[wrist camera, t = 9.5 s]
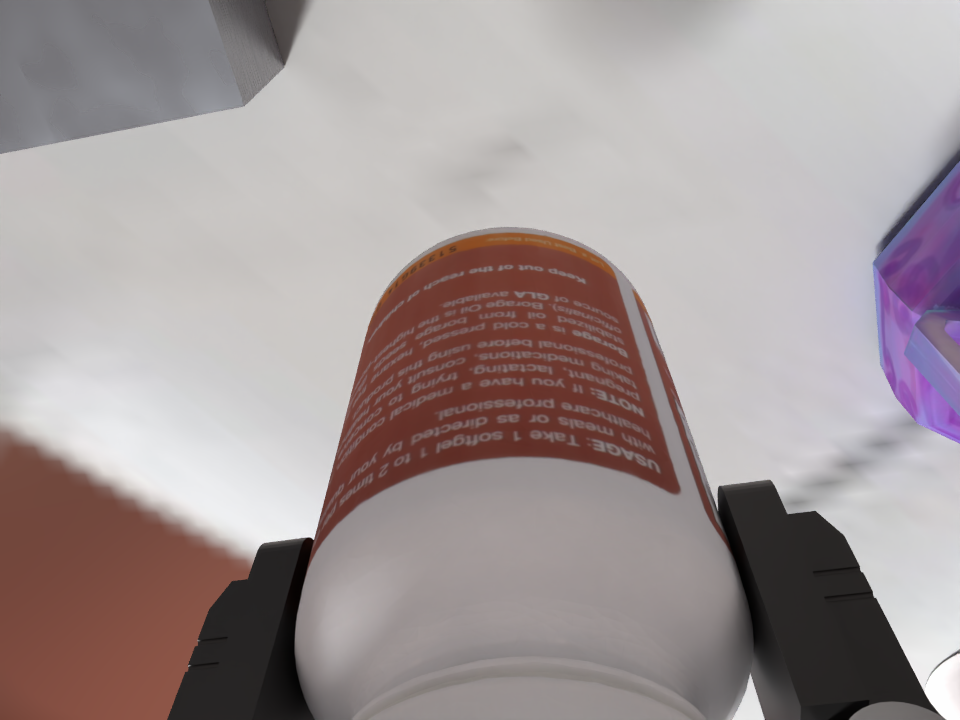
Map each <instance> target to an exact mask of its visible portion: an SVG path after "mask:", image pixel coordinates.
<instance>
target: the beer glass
mask: <svg viewBox="0 0 960 720" xmlns="http://www.w3.org/2000/svg"><path fill="white" fill-rule="evenodd" d="M925 694H926V696H927V698H928V699H929V701H930V703H931V704H932V705H933V706H934V708H935V709H936V710H937V711H938V713H939V714H940V715H941V716H942V717H943V718H945V719H946V720H960V653H958V654H956V655H954V656H952V657H950V658H949V659H947V660H946V661H944V662H943V663H942V664H941V665H939V666H938V667H937V668H936V669H935V670H934V672H933V673H932V674H931V676H930V677H929V679H928V681H927V683H926V687H925Z"/></svg>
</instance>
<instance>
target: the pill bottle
mask: <svg viewBox="0 0 960 720" xmlns="http://www.w3.org/2000/svg"><path fill="white" fill-rule="evenodd" d="M753 647H754V637H753V624H752V618H751V612H750V608H749V604H748V600H747V597H746V594H745V590H744V587H743V584H742V581H741V577H740V574H739V571H738V567H737V564H736V561H735V558H734V555H733V552H732V550H731V547H730V544H729V541H728V538H727V535H726V533H725V530H724V527H723V524H722V521H721V519H720V516H719V513H718V510H717V508H716V504H715V501H714V498H713V495H712V493H711V490H710V487H709V484H708V481H707V478H706V476H705V473H704V469H703V466H702V464H701V461H700V458H699V455H698V452H697V449H696V446H695V443H694V439H693V437H692V435H691V432H690V429H689V426H688V423H687V420H686V417H685V414H684V411H683V409H682V406H681V403H680V400H679V397H678V394H677V391H676V389H675V386H674V383H673V380H672V377H671V375H670V372H669V369H668V367H667V364H666V360H665V357H664V354H663V352H662V349H661V347H660V344H659V341H658V338H657V336H656V333H655V330H654V327H653V324H652V321H651V319H650V317H649V315H648V312H647V310H646V308H645V306H644V303H643V301H642V300H641V298H640V296H639V294H638V293H637V291H636V289H635V288H634V287H633V285H632V284H631V283H630V281H629V280H628V279H627V278H626V276H625V275H624V274H623V273H622V272H621V271H620V270H619V269H618V268H617V267H616V266H615V265H614V264H613V263H611V262H610V261H609V260H608V259H606V258H605V257H604V256H602V255H601V254H599V253H598V252H596V251H595V250H593V249H591V248H589V247H588V246H586V245H584V244H582V243H580V242H578V241H575V240H573V239H570V238H567V237H564V236H561V235H558V234H554V233H550V232H547V231H542V230H537V229H531V228H519V227H500V228H489V229H483V230H477V231H472V232H468V233H465V234H461V235H458V236H455V237H452V238H450V239H447V240H445V241H442V242H440V243H438V244H436V245H435V246H433V247H431V248H429V249H428V250H426V251H425V252H423V253H422V254H420V255H419V256H418V257H416V258H415V259H413V260H412V261H411V262H410V263H409V264H408V265H407V266H405V267H404V268H403V269H402V270H401V271H400V272H399V273H398V275H397V276H396V277H395V278H394V279H393V280H392V281H391V283H390V284H389V285H388V287H387V288H386V290H385V291H384V293H383V295H382V296H381V298H380V300H379V302H378V304H377V306H376V308H375V311H374V313H373V316H372V318H371V321H370V324H369V326H368V330H367V334H366V337H365V341H364V345H363V349H362V353H361V357H360V361H359V365H358V369H357V373H356V377H355V381H354V385H353V389H352V393H351V397H350V401H349V405H348V409H347V413H346V417H345V421H344V425H343V429H342V433H341V437H340V441H339V445H338V449H337V453H336V457H335V461H334V465H333V469H332V473H331V477H330V480H329V484H328V488H327V492H326V496H325V500H324V504H323V508H322V512H321V516H320V520H319V523H318V527H317V531H316V535H315V539H314V542H313V547H312V551H311V555H310V560H309V564H308V568H307V572H306V577H305V581H304V585H303V589H302V595H301V599H300V604H299V608H298V613H297V620H296V629H295V651H294V653H295V659H296V670H297V674H298V678H299V682H300V686H301V689H302V692H303V695H304V699H305V701H306V703H307V705H308V708H309V710H310V712H311V713H312V715H313V717H314V719H315V720H732V718H733V717H734V715H735V713H736V711H737V709H738V707H739V705H740V703H741V701H742V698H743V696H744V694H745V691H746V688H747V683H748V679H749V675H750V671H751V667H752V660H753Z"/></svg>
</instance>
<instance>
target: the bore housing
mask: <svg viewBox="0 0 960 720" xmlns="http://www.w3.org/2000/svg"><path fill="white" fill-rule="evenodd" d="M283 68H284V64H283V61H282V58H281V54H280V51H279V48H278V45H277V41H276V38H275V35H274V32H273V28H272V25H271V22H270V19H269V15H268V12H267V9H266V6H265V2H264V0H0V154H2V153H7V152H12V151H17V150H22V149H28V148H33V147H38V146H43V145H48V144H53V143H58V142H63V141H69V140H74V139H79V138H84V137H89V136H94V135H99V134H105V133H110V132H115V131H120V130H125V129H130V128H135V127H140V126H146V125H151V124H156V123H161V122H166V121H171V120H176V119H182V118H187V117H192V116H197V115H202V114H207V113H212V112H217V111H223V110H228V109H233V108H238V107H243V106H245V105H246V104H247V103H248V102H249V101H250V100H251V99H252V98H253V97H254V96H255V95H256V94H257V93H258V92H259V91H260V90H262V89H263V88H264V87H265V86H266V85H267V84H268V83H269V82H270V81H271V80H272V79H273V78H274V77H275V76H276V75H277V74H278V73H279V72H280V71H281V70H282V69H283Z"/></svg>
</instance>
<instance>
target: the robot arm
mask: <svg viewBox="0 0 960 720" xmlns="http://www.w3.org/2000/svg"><path fill="white" fill-rule="evenodd" d="M718 513H719V516H720V519H721V521H722V524H723V527H724V530H725V533H726V535H727V538H728V541H729V544H730V547H731V550H732V552H733V555H734V558H735V561H736V564H737V567H738V571H739V574H740V577H741V581H742V584H743V587H744V590H745V594H746V597H747V600H748V604H749V608H750V612H751V618H752V624H753V637H754V647H753V660H752V667H751V671H750V673H751V676H752V679H753V683H754V686H755V689H756V692H757V695H758V699H759V702H760V705H761V708H762V712H763V715H764V718H765V720H946V719H945V718H943V717H942V716H941V715H940V714H939V713H938V711H937V710H936V709H935V708H934V706H933V705H932V704H931V703H930V701H929V699H928V698H927V696H926V694H925V693H924V691H923V689H922V687H921V685H920V683H919V681H918V679H917V677H916V675H915V673H914V671H913V669H912V667H911V665H910V663H909V661H908V659H907V657H906V656H905V654H904V652H903V650H902V648H901V646H900V644H899V642H898V640H897V638H896V636H895V634H894V632H893V630H892V628H891V626H890V624H889V622H888V620H887V618H886V617H885V615H884V613H883V611H882V609H881V607H880V605H879V603H878V601H877V599H876V598H874V596H873V591H872V589H871V587H870V585H869V583H868V581H867V579H866V577H865V576H864V574H863V572H861V571H860V566H859V564H858V562H857V560H856V558H855V556H854V554H853V552H852V550H851V548H850V546H849V544H848V542H847V540H846V538H845V536H844V535H843V534H842V533H840V532H839V531H838V530H837V529H836V528H835V527H833V526H832V525H831V524H830V523H829V522H828V521H826V520H825V519H824V518H823V517H822V516H821V515H820V514H818V513H817V512H816V511H811V512H803V513H795V514H787V512H786V510H785V508H784V506H783V503H782V501H781V499H780V497H779V494H778V492H777V490H776V488H775V486H774V484H773V482H772V481H771V480H764V481H756V482H748V483H740V484H732V485H724V486H719V487H718ZM313 542H314V540H313V539H312V538H300V539H293V540H285V541H277V542H269V543H264V544H262V545H261V546H260V547H259V549H258V551H257V554H256V557H255V560H254V563H253V565H252V568H251V571H250V574H249V578H248V579H246V580H238V581H232V582H231V583H230V584H229V586H228V587H227V588H226V589H225V591H224V592H223V593H222V594H221V596H220V597H219V598H218V599H217V601H216V602H215V603H214V604H213V606H212V607H211V608H210V609H209V611H208V614H207V617H206V619H205V622H204V625H203V627H202V630H201V632H200V635H199V638H198V646H196V647H195V648H194V651H193V654H192V656H191V659H190V661H189V664H188V668H189V669H188V672H185V675H184V677H183V680H182V683H181V685H180V688H179V690H178V693H177V695H176V698H175V701H174V704H173V706H172V709H171V711H170V714H169V717H168V719H167V720H315V719H314V717H313V715H312V713H311V712H310V710H309V708H308V705H307V703H306V701H305V699H304V695H303V692H302V689H301V686H300V682H299V678H298V674H297V670H296V659H295V653H294V651H295V629H296V620H297V613H298V608H299V604H300V599H301V595H302V589H303V585H304V581H305V577H306V572H307V568H308V564H309V560H310V555H311V551H312V547H313Z"/></svg>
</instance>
